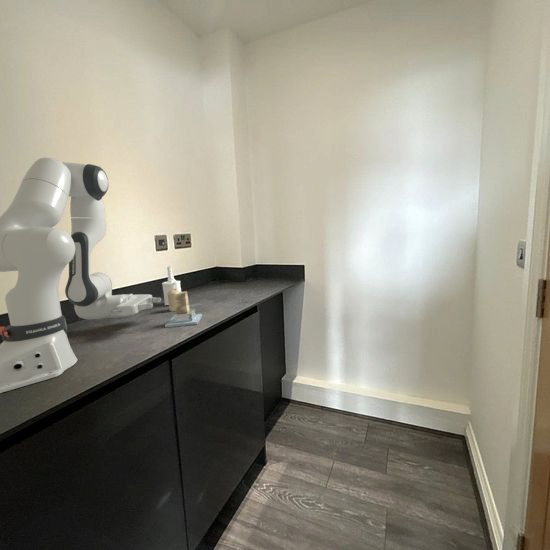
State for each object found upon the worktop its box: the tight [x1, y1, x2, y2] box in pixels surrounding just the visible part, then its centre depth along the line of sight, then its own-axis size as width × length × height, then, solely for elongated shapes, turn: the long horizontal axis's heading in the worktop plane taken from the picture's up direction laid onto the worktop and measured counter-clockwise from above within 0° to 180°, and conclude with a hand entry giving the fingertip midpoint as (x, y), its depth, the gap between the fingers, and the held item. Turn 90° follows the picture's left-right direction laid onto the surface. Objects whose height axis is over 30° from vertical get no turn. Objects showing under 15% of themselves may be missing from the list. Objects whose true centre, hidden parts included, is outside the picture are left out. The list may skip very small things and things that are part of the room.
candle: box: [167, 289, 179, 312], centre depth 139 cm, size 6×6×10 cm
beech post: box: [175, 290, 190, 314], centre depth 117 cm, size 4×4×11 cm
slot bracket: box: [173, 308, 197, 323], centre depth 118 cm, size 8×7×3 cm
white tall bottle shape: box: [161, 265, 182, 306], centre depth 151 cm, size 10×9×20 cm
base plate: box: [164, 313, 203, 328], centre depth 118 cm, size 12×12×1 cm
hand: (156, 302), depth 116 cm, fingers open, 8 cm apart
